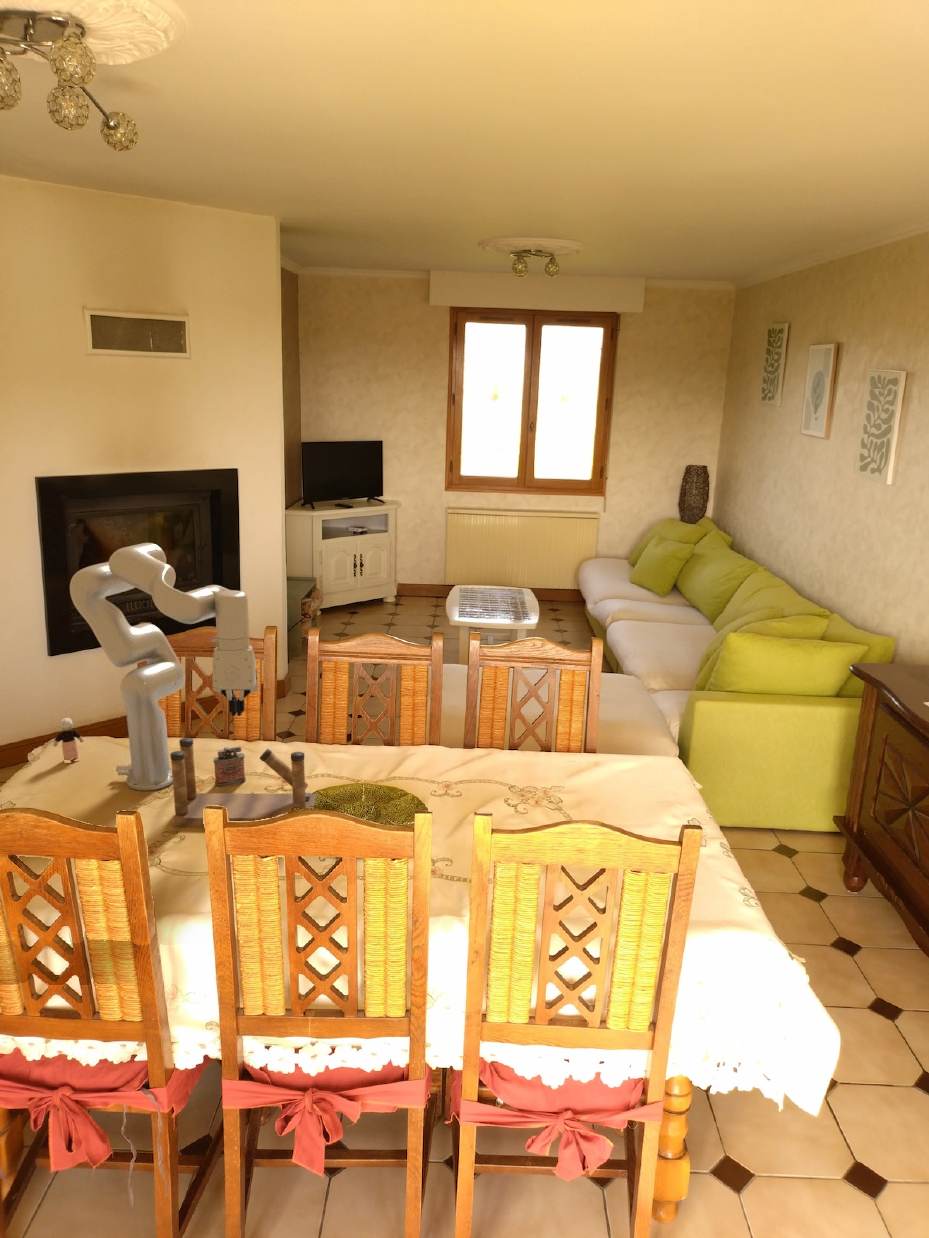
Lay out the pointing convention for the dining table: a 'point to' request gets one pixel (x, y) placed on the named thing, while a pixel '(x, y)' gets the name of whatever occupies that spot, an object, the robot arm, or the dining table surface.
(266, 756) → the folding leg
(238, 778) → the lighter
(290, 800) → the stool
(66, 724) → the grandmother figurine
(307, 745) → the dining table surface
